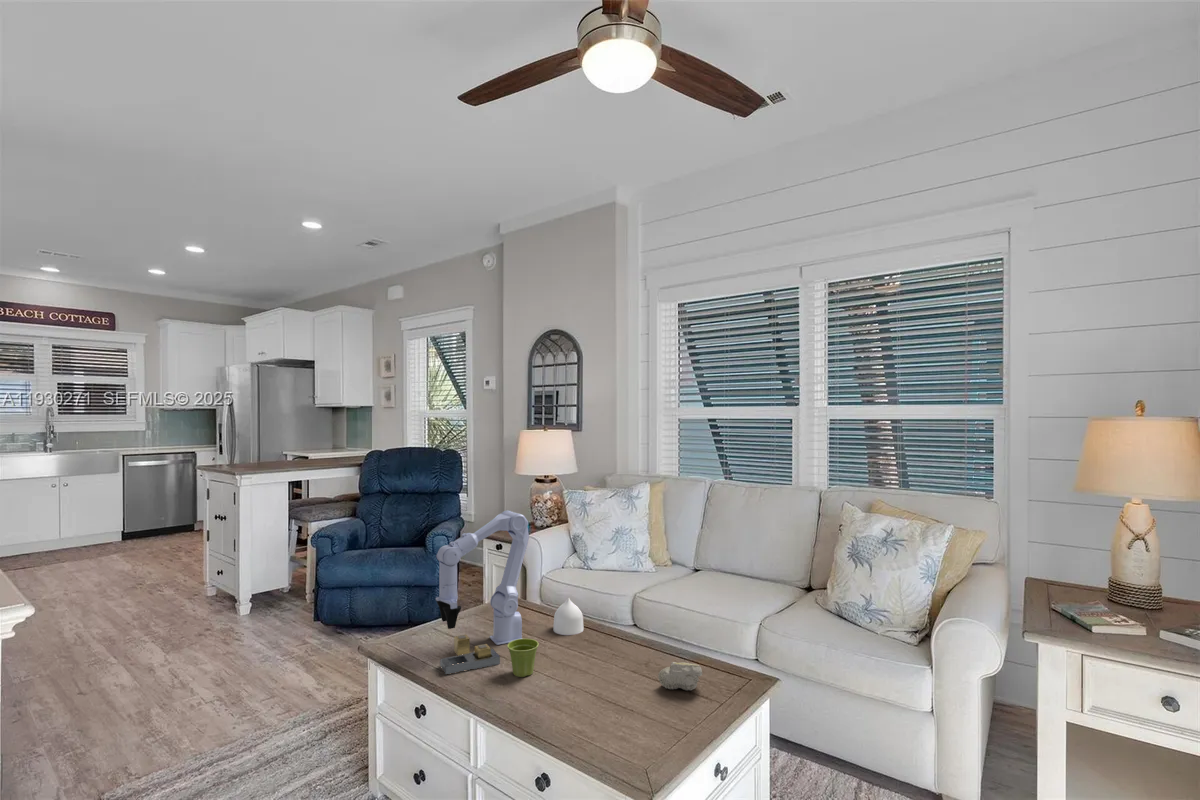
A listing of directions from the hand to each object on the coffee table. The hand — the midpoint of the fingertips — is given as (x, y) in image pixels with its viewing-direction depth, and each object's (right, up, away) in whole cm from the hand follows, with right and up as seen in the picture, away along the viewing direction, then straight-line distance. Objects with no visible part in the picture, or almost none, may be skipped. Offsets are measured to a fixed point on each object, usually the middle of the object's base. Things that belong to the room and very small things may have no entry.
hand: (448, 624), depth 197 cm
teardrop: (+38, -10, +22) cm, 45 cm away
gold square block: (+4, -10, +1) cm, 11 cm away
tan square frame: (+13, -10, -7) cm, 17 cm away
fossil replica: (+73, -10, -24) cm, 77 cm away
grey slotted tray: (+9, -9, -9) cm, 16 cm away
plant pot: (+26, -10, -15) cm, 32 cm away
